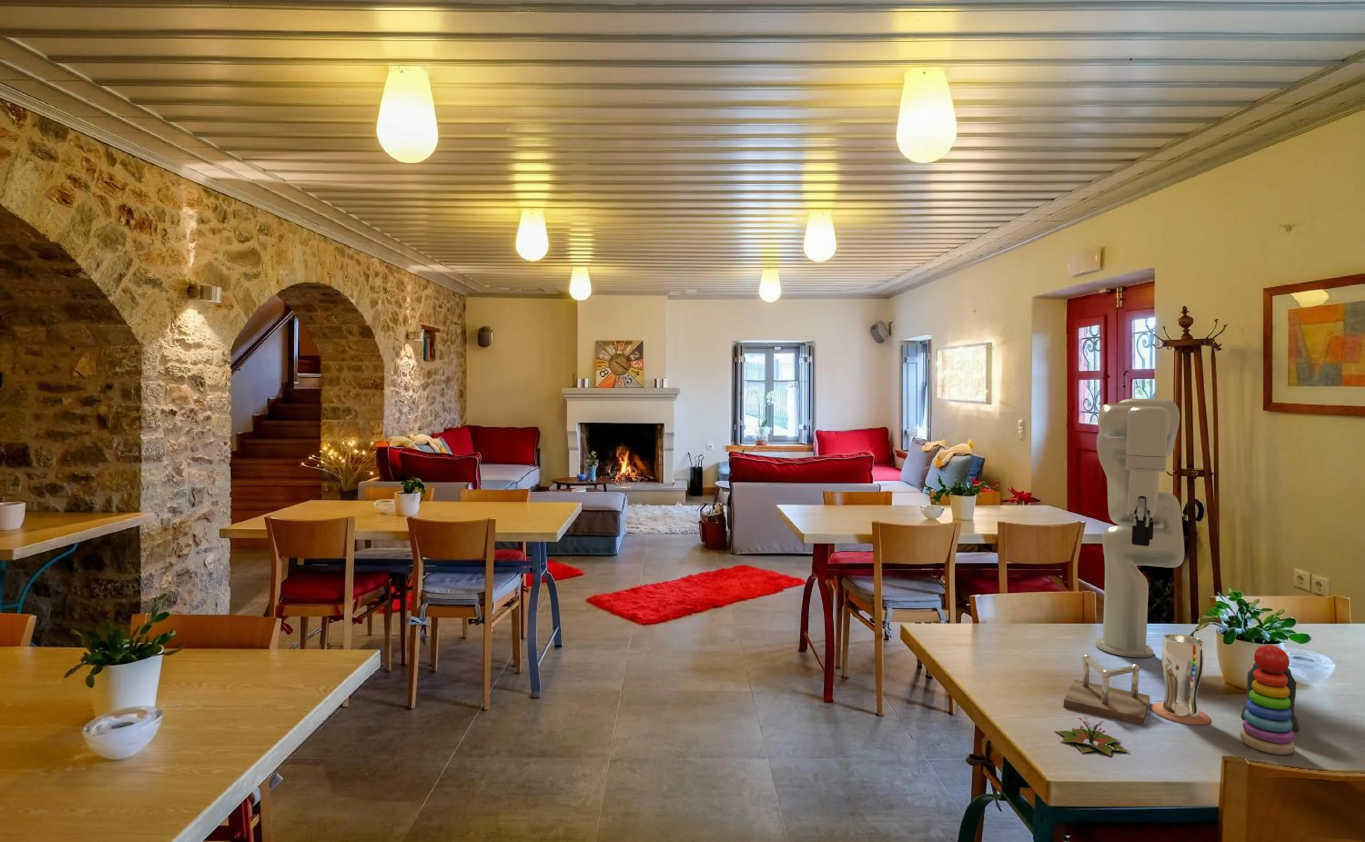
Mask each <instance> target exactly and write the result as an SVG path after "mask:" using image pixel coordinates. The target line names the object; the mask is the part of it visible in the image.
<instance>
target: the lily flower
mask: <svg viewBox="0 0 1365 842" xmlns="http://www.w3.org/2000/svg"><path fill="white" fill-rule="evenodd" d="M1077 718H1078V719H1079V721H1082V722H1083V723H1084V725H1085V727H1086V728H1084V726H1082V725H1079V728H1074V727H1073V728H1071V731H1068V730H1060V731H1059V730H1058V731H1057V730H1054V733H1056V734H1058V735H1061V736H1063V739H1062V740H1061V741H1060V743H1075V746H1076V747H1077V748H1078V751H1079V750H1080V752H1081V754H1083V753H1087V752H1093V751H1094V752H1095V751H1098V750H1099V751H1100V752H1102V753H1104V754H1106V755H1108V756H1109V757H1112V752H1113V751H1118V752H1119V751H1120V752H1126V753H1130V751H1129V750H1128V749H1126V748H1124V747H1123V746H1121V745H1119V744H1117V743H1116V742H1120V740H1119V739H1117V738H1115V737H1113V736H1110V735H1108V734H1104V733H1105V732H1106V730H1102V728H1099V729H1098V727H1099V726H1101V725H1102V724H1103V723H1104V720H1102V721H1100V722H1099V723H1098V724H1095V725H1092V726H1091V725H1090V723H1089V721H1088V719H1087V717H1086V716H1085V715H1084V718H1085V720H1086V721H1085V720H1083V719H1082V718H1080V717H1077ZM1093 720H1096V719H1095V717H1094V718H1093ZM1091 727H1092V728H1091ZM1085 740H1088V743H1086V742H1085ZM1094 742H1097V744H1096V745H1097V746H1096V745H1092V744H1094ZM1089 743H1090V744H1089ZM1105 744H1107V745H1105ZM1084 745H1087V746H1088V745H1089V746H1090V747H1088V748H1086V747H1085V746H1084ZM1109 745H1110V746H1111V747H1113V748H1114V749H1112V748H1111V747H1110V746H1109ZM1116 749H1119V750H1116Z"/></svg>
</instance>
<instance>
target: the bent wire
mask: <svg viewBox="0 0 1365 842" xmlns="http://www.w3.org/2000/svg"><path fill="white" fill-rule="evenodd" d="M1082 661H1083V662H1082V663H1083V665H1082V667H1083V668H1082V681H1083V687H1086V688H1088V687H1089V683H1090V668H1093V669H1094V670H1095V671H1096V672H1097V673H1099V674H1100V675H1101V676H1102V678H1101V679H1102V680H1101V685H1102V701H1101V703H1102V704H1104V705H1108V697H1109V687H1110V678H1111V677H1116V676H1120V675H1121V676H1122V675H1126V674H1131V687H1130V688H1131V697H1133V698H1138V693H1139V682H1140V681H1139V678H1140V671H1141V667H1140V666H1139V665H1138V664H1132V665H1130V666H1125V667H1123V666H1122V667H1120V668H1118V667H1117V668H1114V669H1109V670H1106V669H1105V668H1104V667H1103V666H1101V665H1100V664H1098V662H1096V661H1095V660H1094V659H1092V658H1091V656H1090V655H1089V654H1084V655H1083V656H1082Z"/></svg>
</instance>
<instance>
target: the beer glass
mask: <svg viewBox="0 0 1365 842" xmlns="http://www.w3.org/2000/svg"><path fill="white" fill-rule="evenodd" d="M1163 636H1164V639H1163V645H1162V653H1161V665H1162V672H1163V673H1162V674H1163V680H1164V686H1165V695H1164V699H1163V700H1164V701H1163V702H1162V703H1163V710H1164V711H1165V712H1167V713H1168V714H1171V715H1174V716H1177V717H1181V718H1189V719H1193V718H1197V717H1198V716H1199V713H1198V710H1199V708H1198V694H1199V688H1200V685H1201V681H1202V677H1203V673H1204V663H1205V659H1204V658H1205V654H1204V652H1205V651H1204V641H1203V640H1202V639H1200V638H1199V637H1195V636H1191V635H1186V634H1181V633H1180V634H1179V633H1167V634H1165V635H1163Z"/></svg>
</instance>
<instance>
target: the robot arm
mask: <svg viewBox="0 0 1365 842" xmlns="http://www.w3.org/2000/svg"><path fill="white" fill-rule="evenodd" d="M1178 407H1179V406H1177V404H1176V403H1175V402H1174V401H1172V400H1171V399H1165V398H1164V399H1162V398H1126V399H1123V400H1121V401H1119V402H1114V403H1105V404H1103V405H1102V406H1101V408H1100V410H1099V413H1098V418H1097V423H1098V424H1097V425H1098V429H1099V431H1098V433H1097V436H1096V451H1097V456H1098V460H1099V462H1100V465H1101V467H1102V470H1103V472H1104V474H1105V477H1106V482H1107V485H1106V486H1107V505H1108V506H1107V508H1108V509H1107V511H1108V516H1109V519H1110V520H1111V521H1112V522H1113V523H1114V524H1117V525H1113V526H1110V527H1107V528H1106V529H1105V531H1104V532H1103V534H1102V548H1103V556H1104V557H1103V558H1104V600H1103V620H1102V621H1103V622H1102V623H1103V624H1102V626H1103V627H1102V637H1100V638H1097V639H1096V640H1095V646H1096V647H1097V648H1098V649H1099V650H1102V651H1104V652H1107V653H1108V654H1109V653H1110V654H1113V655H1117V656H1120V657H1127V658H1138V659H1139V658H1149V657H1152V656H1153V655H1154V649H1153V648H1152V647H1151V646H1150V645H1147V632H1148V631H1147V630H1148V603H1149V582H1148V579H1147V578H1146V576H1145V575H1144V574H1143V573H1142V572H1141V571H1140V570H1139V569H1138V567H1137V566H1147V567H1148V566H1150V567H1160V568H1161V567H1162V568H1168V569H1169V568H1170V569H1171V568H1178V567H1179V566H1181V565H1182V564H1183V562H1184V559H1185V540H1184V539H1185V538H1184V529H1183V520H1182V509H1181V504H1180V502H1179V500H1178V498H1177V497H1176V496H1175V495H1174V494H1172V493H1170V492H1164V491H1159V485H1160V484H1159V483H1160V473H1166V471H1167V458H1169V457H1170V456H1171V455H1172V453H1173V451H1174V447H1175V444H1176V439H1177V434H1178V431H1179V428H1180V427H1179V426H1180V418H1181V417H1180V410H1179V408H1178Z"/></svg>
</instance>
